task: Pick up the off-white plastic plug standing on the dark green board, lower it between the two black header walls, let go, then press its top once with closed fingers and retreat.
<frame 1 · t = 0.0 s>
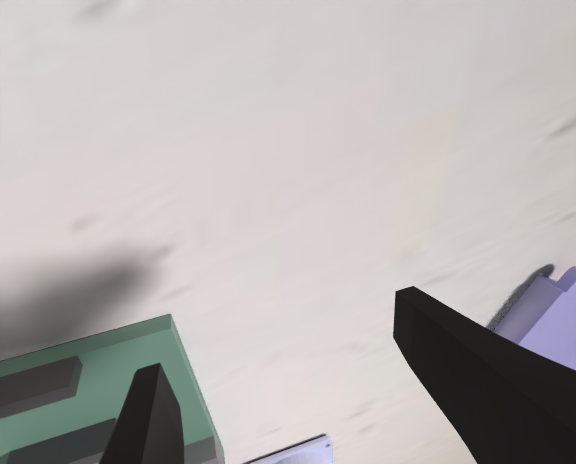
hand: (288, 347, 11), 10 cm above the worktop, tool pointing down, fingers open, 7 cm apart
board: (71, 433, 24), on the worktop
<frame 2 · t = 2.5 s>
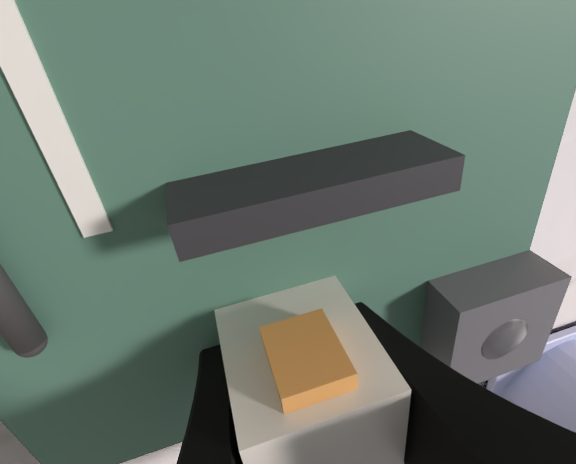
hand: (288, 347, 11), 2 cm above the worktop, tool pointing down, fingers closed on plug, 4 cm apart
plug: (284, 335, 11), point 1 cm above the worktop, touching board, gripper
board: (272, 202, 10), on the worktop
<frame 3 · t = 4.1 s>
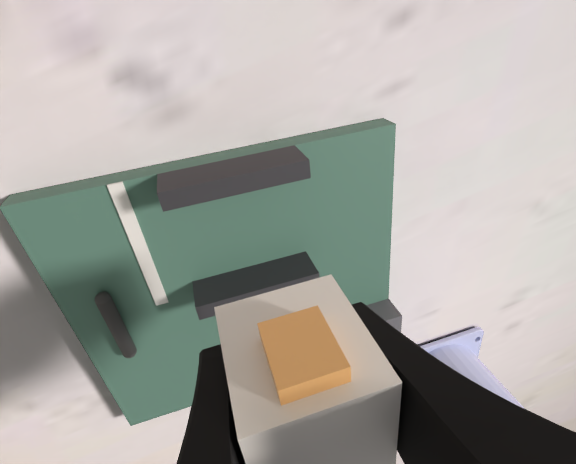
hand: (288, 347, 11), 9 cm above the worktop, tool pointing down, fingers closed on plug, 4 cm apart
plug: (281, 332, 12), point 8 cm above the worktop, touching gripper
board: (242, 280, 21), on the worktop
when the fingers open (3 cm above the worktop, at t = 5.6 s): plug stays where it is, resting on board.
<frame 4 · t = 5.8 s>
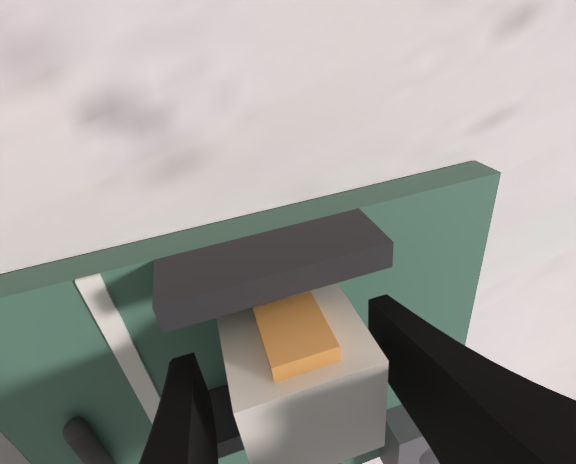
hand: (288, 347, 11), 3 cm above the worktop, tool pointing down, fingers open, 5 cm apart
plug: (277, 320, 12), point 1 cm above the worktop, touching board
board: (270, 372, 15), on the worktop
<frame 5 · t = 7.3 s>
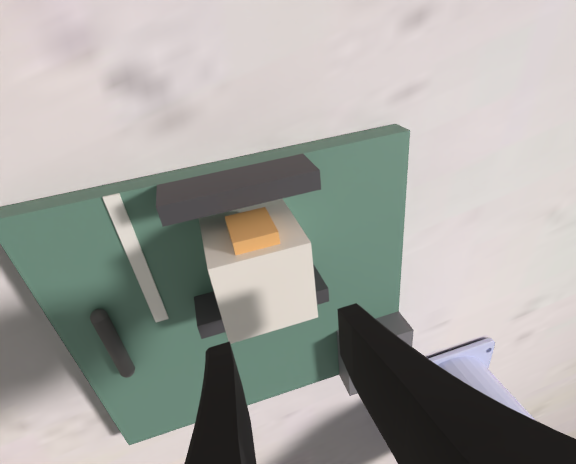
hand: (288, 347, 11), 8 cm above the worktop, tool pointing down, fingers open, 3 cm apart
plug: (247, 240, 17), point 1 cm above the worktop, touching board
board: (246, 293, 20), on the worktop
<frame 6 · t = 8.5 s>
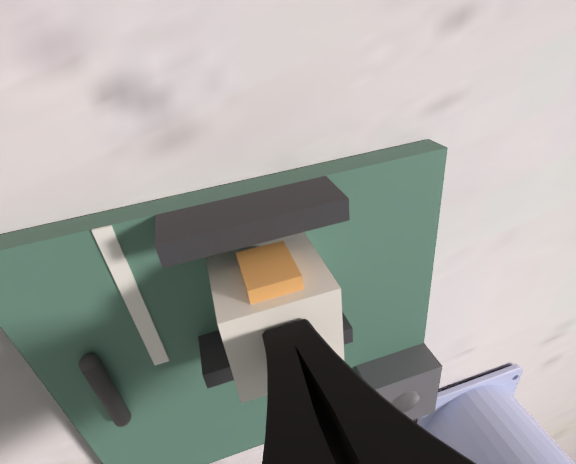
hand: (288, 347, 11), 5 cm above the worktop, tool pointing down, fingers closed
plug: (259, 273, 15), point 1 cm above the worktop, touching board
board: (257, 327, 18), on the worktop
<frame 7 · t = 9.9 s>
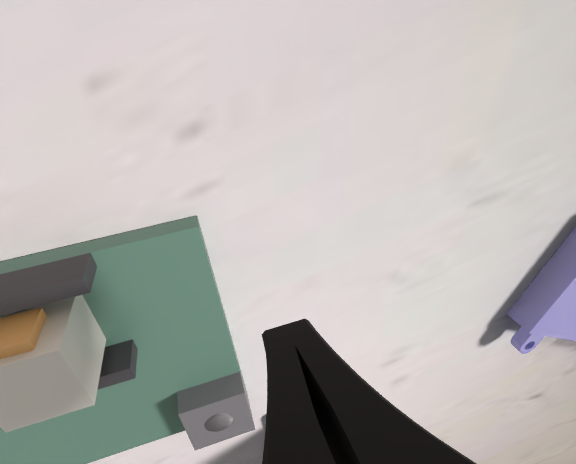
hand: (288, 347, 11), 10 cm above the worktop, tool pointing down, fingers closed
plug: (54, 324, 18), point 1 cm above the worktop, touching board
board: (81, 362, 21), on the worktop
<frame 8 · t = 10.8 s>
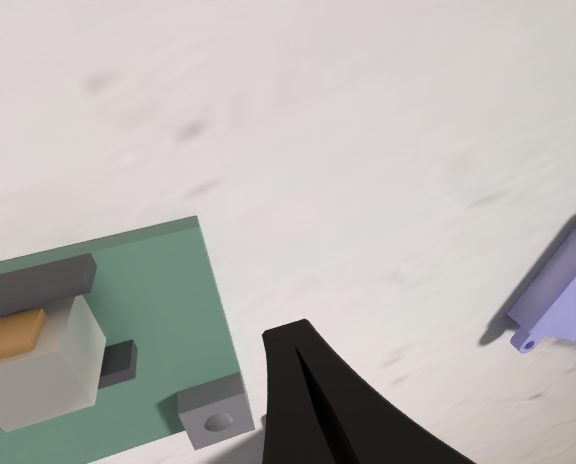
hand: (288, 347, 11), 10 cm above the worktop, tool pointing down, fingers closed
plug: (54, 324, 18), point 1 cm above the worktop, touching board
board: (81, 362, 21), on the worktop
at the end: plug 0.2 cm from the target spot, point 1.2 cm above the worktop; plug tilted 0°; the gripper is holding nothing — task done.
